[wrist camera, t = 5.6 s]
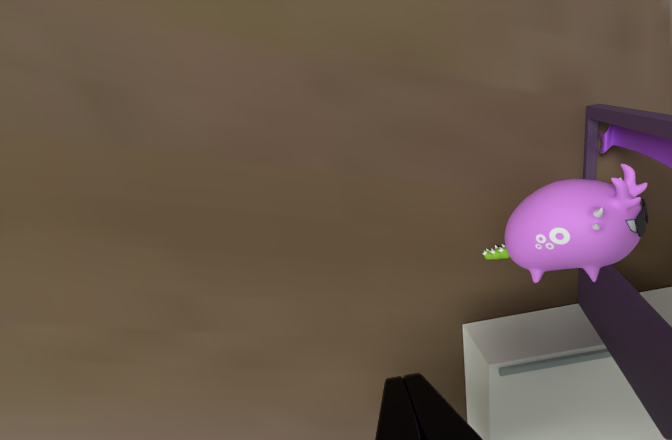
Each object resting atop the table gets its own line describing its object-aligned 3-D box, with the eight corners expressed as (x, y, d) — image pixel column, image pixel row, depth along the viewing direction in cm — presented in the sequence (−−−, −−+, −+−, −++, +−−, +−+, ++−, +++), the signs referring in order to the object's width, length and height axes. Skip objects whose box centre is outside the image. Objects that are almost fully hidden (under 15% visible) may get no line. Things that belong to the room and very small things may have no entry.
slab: (645, 408, 18) (699, 458, 15) (468, 439, 18) (492, 493, 15) (672, 286, 15) (744, 322, 12) (462, 324, 15) (490, 367, 12)
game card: (719, 449, 9) (812, 120, 6) (509, 426, 11) (495, 166, 7) (604, 300, 15) (621, 98, 12) (482, 301, 16) (468, 127, 13)
